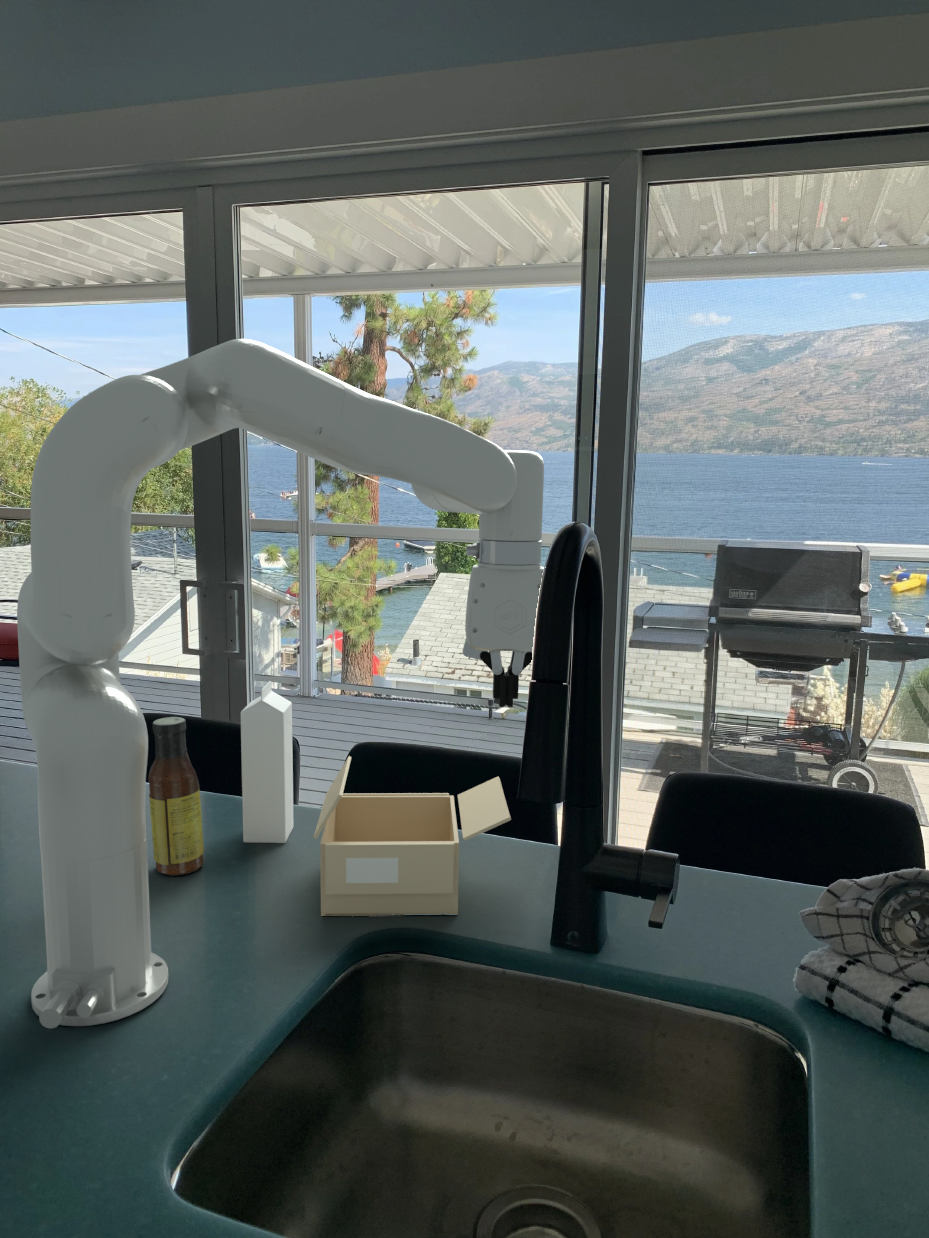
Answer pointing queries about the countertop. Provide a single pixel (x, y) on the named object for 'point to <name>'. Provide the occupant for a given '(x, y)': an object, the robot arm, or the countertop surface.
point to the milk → (267, 768)
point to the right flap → (482, 808)
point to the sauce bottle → (174, 802)
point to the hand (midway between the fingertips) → (505, 704)
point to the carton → (390, 855)
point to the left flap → (332, 797)
